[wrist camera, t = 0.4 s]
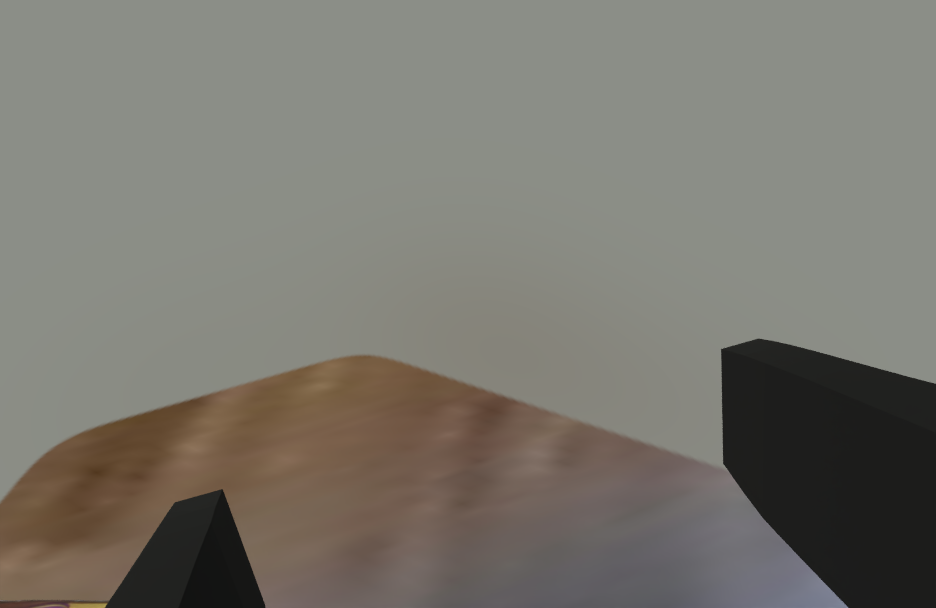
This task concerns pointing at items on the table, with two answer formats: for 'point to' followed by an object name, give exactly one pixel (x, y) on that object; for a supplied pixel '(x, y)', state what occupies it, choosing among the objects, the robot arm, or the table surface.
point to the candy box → (52, 604)
